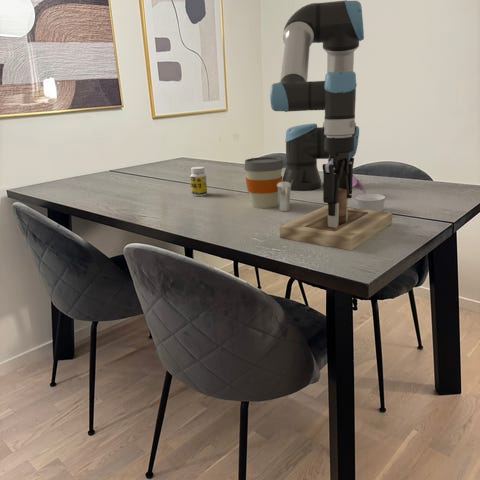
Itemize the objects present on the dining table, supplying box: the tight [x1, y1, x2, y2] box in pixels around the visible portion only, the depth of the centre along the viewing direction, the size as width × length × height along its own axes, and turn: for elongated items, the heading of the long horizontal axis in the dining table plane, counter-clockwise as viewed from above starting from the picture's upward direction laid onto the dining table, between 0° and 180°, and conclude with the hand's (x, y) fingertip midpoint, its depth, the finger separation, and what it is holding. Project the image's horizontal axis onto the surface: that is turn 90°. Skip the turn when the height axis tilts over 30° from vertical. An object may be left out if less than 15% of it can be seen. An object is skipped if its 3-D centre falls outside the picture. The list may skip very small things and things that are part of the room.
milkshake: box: [277, 180, 293, 212], centre depth 150 cm, size 4×5×10 cm
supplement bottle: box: [190, 166, 208, 197], centre depth 178 cm, size 6×6×10 cm
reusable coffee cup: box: [243, 156, 284, 209], centre depth 157 cm, size 13×13×15 cm
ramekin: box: [355, 193, 386, 212], centre depth 147 cm, size 9×9×4 cm
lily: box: [352, 174, 367, 194], centre depth 165 cm, size 12×12×10 cm
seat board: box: [279, 204, 393, 251], centre depth 128 cm, size 20×26×3 cm
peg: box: [329, 188, 347, 229], centre depth 127 cm, size 4×4×10 cm
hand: (337, 224), depth 128 cm, fingers open, 5 cm apart
